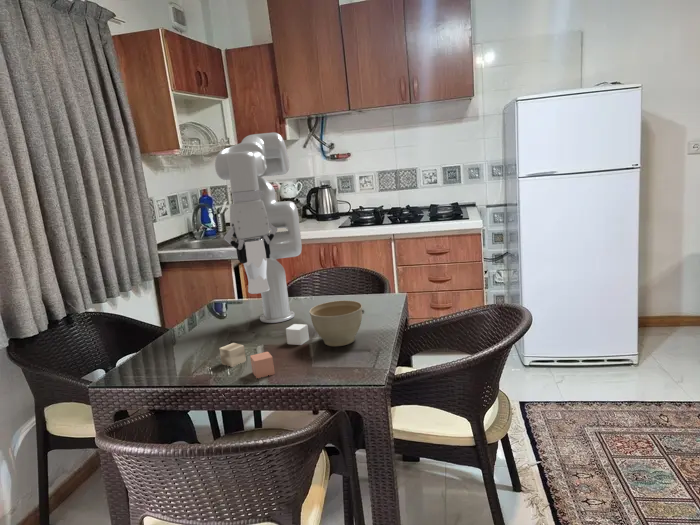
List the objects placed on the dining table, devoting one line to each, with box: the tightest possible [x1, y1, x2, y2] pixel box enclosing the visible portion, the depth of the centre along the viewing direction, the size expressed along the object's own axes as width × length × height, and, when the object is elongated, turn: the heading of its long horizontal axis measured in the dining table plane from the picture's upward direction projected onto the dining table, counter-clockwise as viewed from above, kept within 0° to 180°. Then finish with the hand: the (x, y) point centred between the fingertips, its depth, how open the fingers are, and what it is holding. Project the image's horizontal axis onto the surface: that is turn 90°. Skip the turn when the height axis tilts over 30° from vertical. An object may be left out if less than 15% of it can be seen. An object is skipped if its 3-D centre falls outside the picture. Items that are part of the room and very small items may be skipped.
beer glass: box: [242, 238, 270, 295], centre depth 150 cm, size 7×7×15 cm
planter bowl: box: [309, 299, 363, 347], centre depth 162 cm, size 16×16×11 cm
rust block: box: [249, 351, 276, 379], centre depth 143 cm, size 5×5×5 cm
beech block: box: [219, 342, 247, 368], centre depth 153 cm, size 5×5×5 cm
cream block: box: [285, 323, 310, 346], centre depth 166 cm, size 5×5×5 cm
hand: (254, 259), depth 149 cm, fingers closed on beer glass, 6 cm apart
